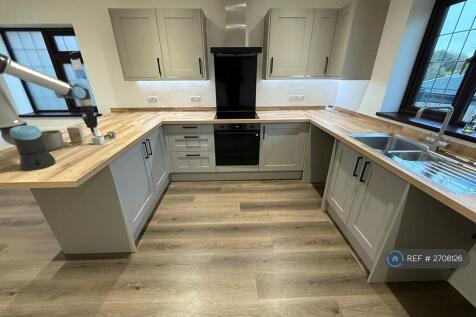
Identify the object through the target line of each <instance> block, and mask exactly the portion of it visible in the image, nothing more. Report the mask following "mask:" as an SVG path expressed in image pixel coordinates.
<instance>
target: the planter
mask: <svg viewBox="0 0 476 317" xmlns="http://www.w3.org/2000/svg"><path fill="white" fill-rule="evenodd" d="M41 134H42V137H43V140H44V142H45V145H46V148H47V150H48V152H55V151H59V150H60V149H61V148H62V147H63V145H64V138H63V135H62V134H63V133H62V131H61V130H57V129H54V130H53V129H52V130H43V131H41Z"/></svg>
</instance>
